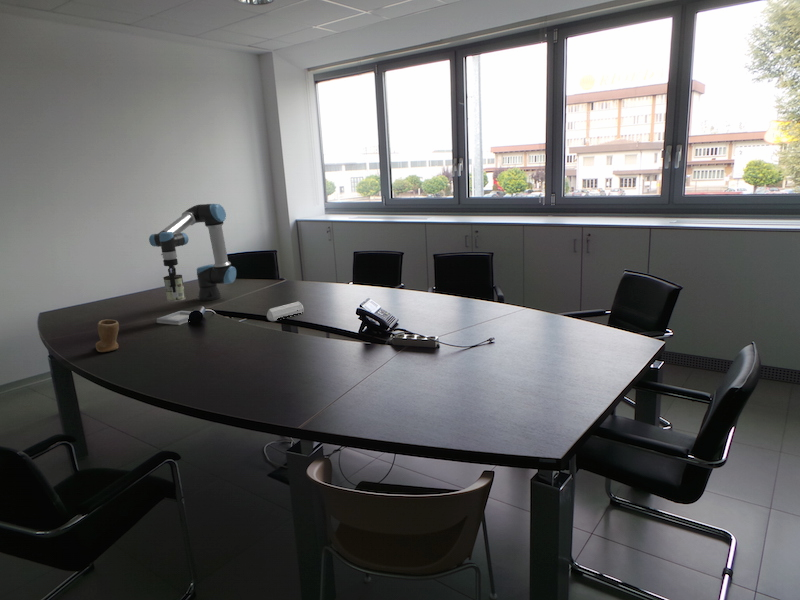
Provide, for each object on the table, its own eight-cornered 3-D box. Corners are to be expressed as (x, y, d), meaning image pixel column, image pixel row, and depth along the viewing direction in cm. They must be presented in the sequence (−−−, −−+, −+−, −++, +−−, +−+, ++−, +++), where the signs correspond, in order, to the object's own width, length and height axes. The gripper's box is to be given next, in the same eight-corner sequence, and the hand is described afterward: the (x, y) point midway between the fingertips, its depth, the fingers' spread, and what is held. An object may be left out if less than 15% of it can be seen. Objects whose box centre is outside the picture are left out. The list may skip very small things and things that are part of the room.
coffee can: (172, 297, 316) (169, 274, 313) (189, 297, 315) (185, 274, 312) (163, 301, 306) (159, 278, 303) (180, 301, 305) (176, 277, 302)
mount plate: (181, 314, 326) (180, 310, 325) (202, 316, 318) (202, 312, 317) (157, 322, 310) (156, 318, 309) (179, 325, 302) (178, 320, 302)
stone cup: (124, 350, 263) (118, 321, 259) (97, 355, 257) (90, 326, 253) (121, 342, 276) (116, 315, 272) (96, 347, 270) (90, 319, 266)
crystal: (272, 316, 294) (307, 307, 310) (265, 309, 297) (300, 299, 314) (270, 326, 298) (305, 316, 314) (263, 318, 302) (298, 309, 318)
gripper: (164, 256, 314) (170, 292, 319) (161, 262, 293) (167, 300, 299) (178, 255, 316) (183, 291, 322) (175, 260, 296) (181, 298, 301)
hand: (176, 295), depth 310 cm, fingers closed on coffee can, 10 cm apart
